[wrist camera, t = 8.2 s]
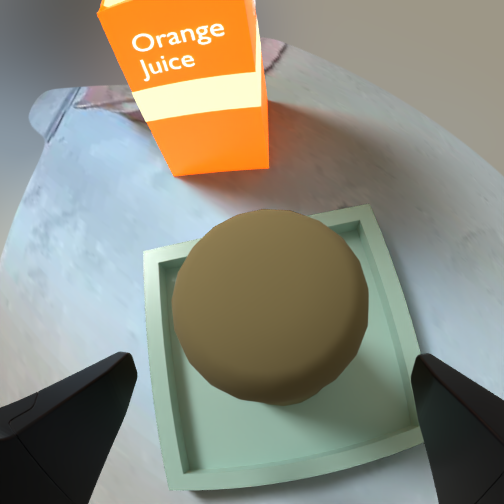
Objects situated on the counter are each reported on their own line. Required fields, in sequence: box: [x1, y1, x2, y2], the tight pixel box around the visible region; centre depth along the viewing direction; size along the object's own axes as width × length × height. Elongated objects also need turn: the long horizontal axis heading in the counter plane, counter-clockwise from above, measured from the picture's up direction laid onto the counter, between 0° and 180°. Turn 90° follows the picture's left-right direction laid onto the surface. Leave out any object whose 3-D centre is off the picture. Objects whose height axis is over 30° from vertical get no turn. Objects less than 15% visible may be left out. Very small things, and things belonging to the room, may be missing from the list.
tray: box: [143, 204, 424, 490], centre depth 16 cm, size 14×14×2 cm
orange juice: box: [97, 0, 269, 176], centre depth 16 cm, size 8×9×20 cm
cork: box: [171, 209, 369, 406], centre depth 12 cm, size 6×6×11 cm
